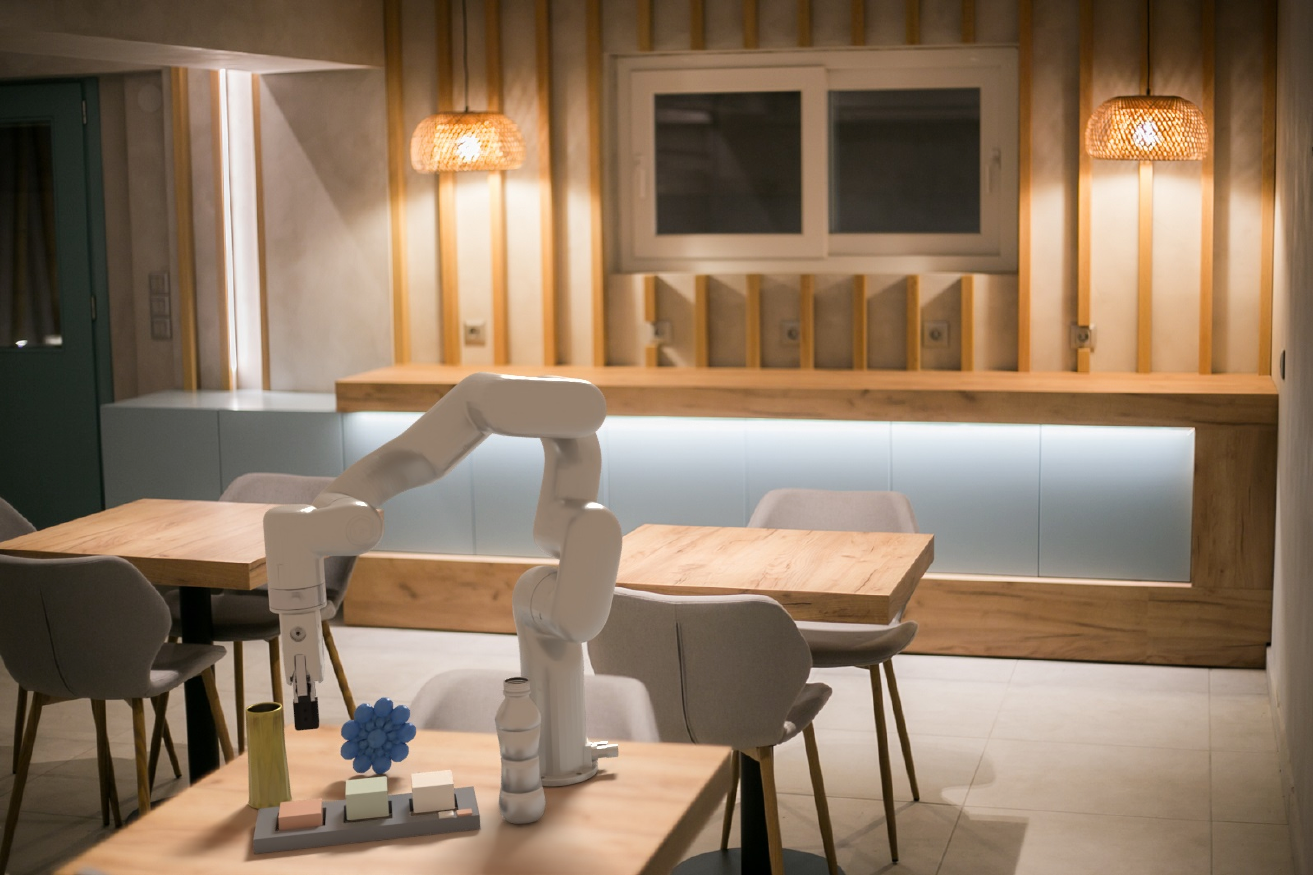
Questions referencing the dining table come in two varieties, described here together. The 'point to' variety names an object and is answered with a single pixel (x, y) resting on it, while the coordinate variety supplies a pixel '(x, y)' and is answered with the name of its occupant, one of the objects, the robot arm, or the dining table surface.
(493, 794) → the dining table surface
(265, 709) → the vase
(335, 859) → the dining table surface
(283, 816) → the key terracotta
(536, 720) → the plastic bottle
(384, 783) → the key sage
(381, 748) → the blue flower rosette
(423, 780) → the key ivory
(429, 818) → the keypad board
